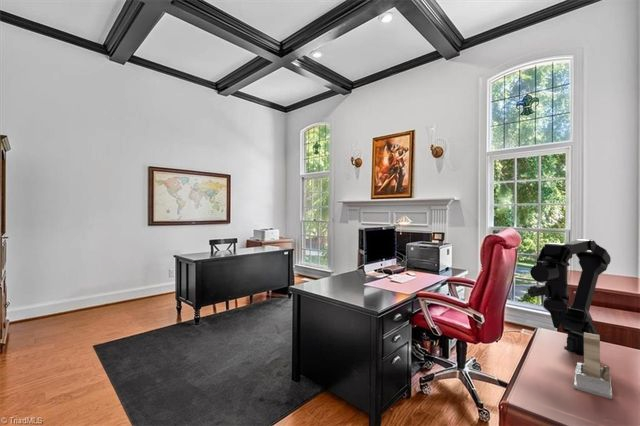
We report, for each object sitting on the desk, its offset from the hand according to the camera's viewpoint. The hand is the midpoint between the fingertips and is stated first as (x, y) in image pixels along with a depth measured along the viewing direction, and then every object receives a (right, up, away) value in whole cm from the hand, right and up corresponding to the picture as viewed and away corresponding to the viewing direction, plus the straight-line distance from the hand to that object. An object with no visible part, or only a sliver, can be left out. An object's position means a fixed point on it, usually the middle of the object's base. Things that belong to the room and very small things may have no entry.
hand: (557, 324), depth 105 cm
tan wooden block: (-1, -11, -15) cm, 19 cm away
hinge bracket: (-1, -12, -15) cm, 19 cm away
